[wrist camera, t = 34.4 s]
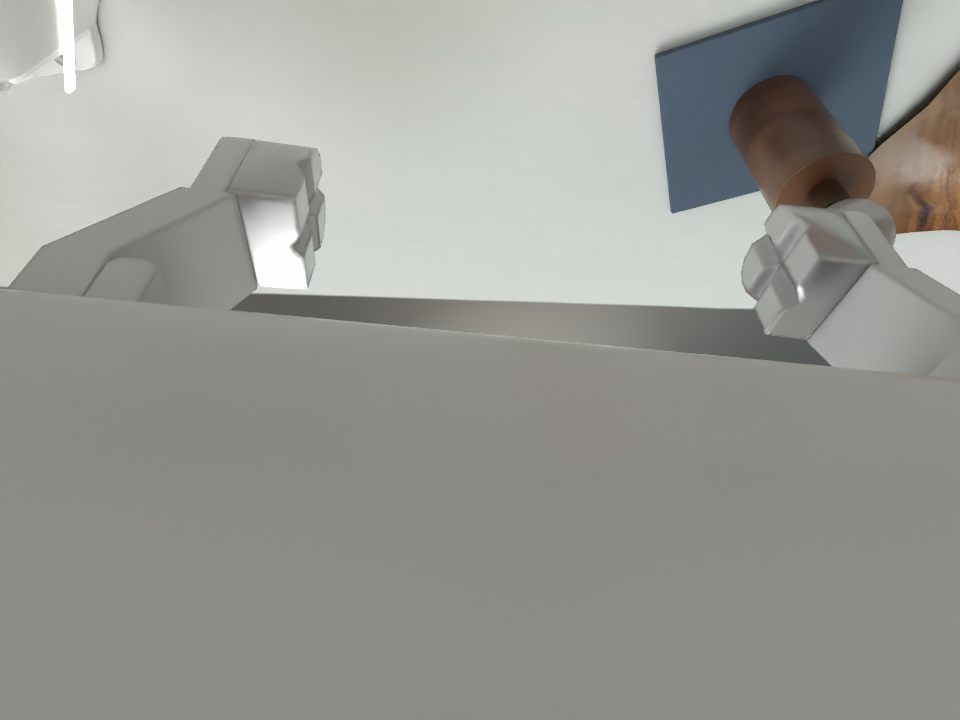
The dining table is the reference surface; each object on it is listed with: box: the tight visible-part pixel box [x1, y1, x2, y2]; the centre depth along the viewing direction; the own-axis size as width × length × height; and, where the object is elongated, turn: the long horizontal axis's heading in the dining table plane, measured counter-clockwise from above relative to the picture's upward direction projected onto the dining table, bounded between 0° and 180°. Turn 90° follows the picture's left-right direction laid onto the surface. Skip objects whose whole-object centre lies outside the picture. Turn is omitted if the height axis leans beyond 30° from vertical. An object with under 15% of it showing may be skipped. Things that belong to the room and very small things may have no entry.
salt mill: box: [729, 75, 896, 247], centre depth 39 cm, size 6×15×15 cm
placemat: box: [655, 0, 903, 213], centre depth 44 cm, size 16×14×1 cm
